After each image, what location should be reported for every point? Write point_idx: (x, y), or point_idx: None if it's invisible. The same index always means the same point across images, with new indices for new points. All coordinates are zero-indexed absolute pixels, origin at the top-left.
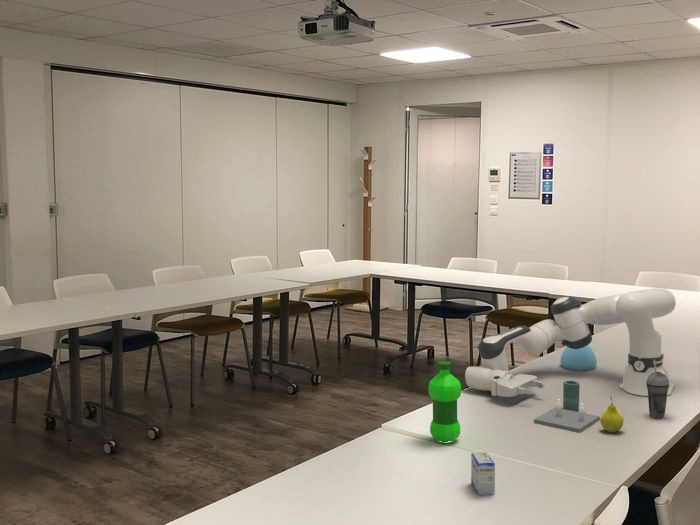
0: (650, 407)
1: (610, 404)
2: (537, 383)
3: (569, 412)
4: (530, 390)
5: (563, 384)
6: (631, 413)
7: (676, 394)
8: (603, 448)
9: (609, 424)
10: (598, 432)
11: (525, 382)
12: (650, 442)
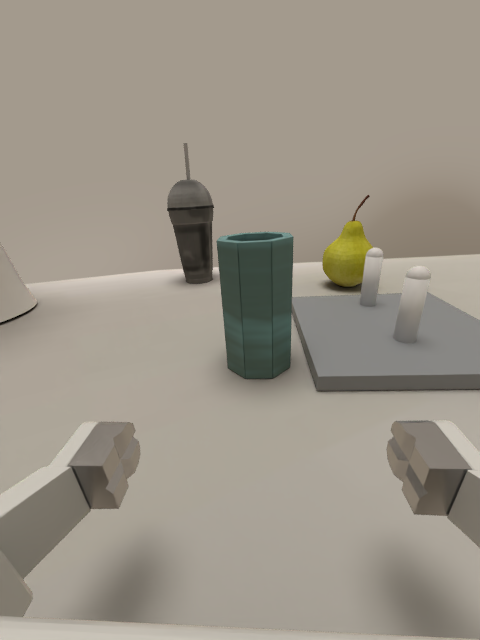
0: (208, 259)
1: (355, 221)
2: (38, 513)
3: (329, 333)
4: (434, 423)
5: (273, 255)
6: (195, 295)
7: None
8: (442, 274)
9: None
10: None
11: (263, 630)
12: None
